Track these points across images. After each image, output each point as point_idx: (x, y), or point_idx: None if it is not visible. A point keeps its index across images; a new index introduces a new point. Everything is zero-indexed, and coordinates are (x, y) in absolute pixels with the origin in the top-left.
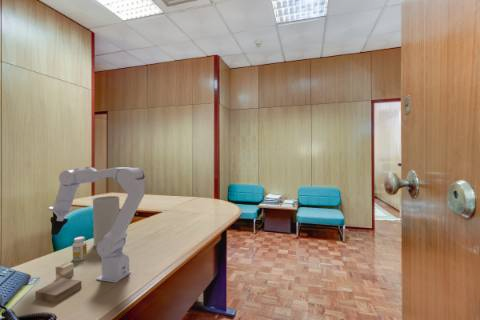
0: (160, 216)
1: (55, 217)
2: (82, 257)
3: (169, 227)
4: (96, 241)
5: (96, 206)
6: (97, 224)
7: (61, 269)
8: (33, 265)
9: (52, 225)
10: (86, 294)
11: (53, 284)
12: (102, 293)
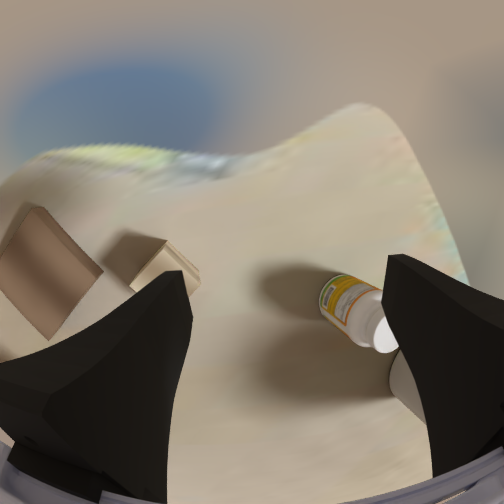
0: None
1: (76, 457)
2: (323, 313)
3: (404, 479)
4: None
5: None
6: None
7: (138, 274)
8: (366, 140)
9: (76, 342)
10: (20, 342)
11: (55, 256)
12: None
